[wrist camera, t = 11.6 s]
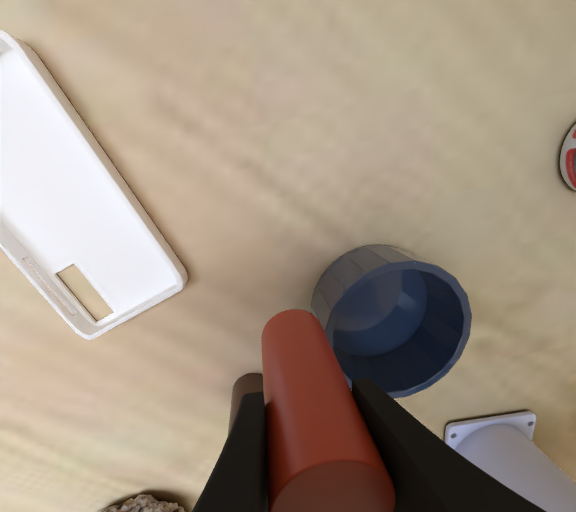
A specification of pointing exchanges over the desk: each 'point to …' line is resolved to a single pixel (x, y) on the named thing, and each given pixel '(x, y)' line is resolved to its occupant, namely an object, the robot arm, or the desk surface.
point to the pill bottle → (569, 159)
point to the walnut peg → (244, 392)
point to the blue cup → (392, 318)
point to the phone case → (72, 203)
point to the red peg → (316, 426)
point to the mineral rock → (145, 505)
